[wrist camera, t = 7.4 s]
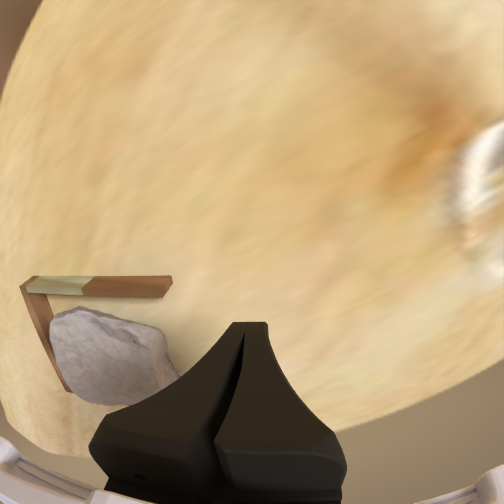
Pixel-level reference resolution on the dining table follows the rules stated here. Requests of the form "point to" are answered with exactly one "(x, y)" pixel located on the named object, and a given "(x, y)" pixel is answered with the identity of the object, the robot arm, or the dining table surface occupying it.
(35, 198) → the dining table surface
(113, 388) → the stone block
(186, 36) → the dining table surface
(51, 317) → the guide slot
